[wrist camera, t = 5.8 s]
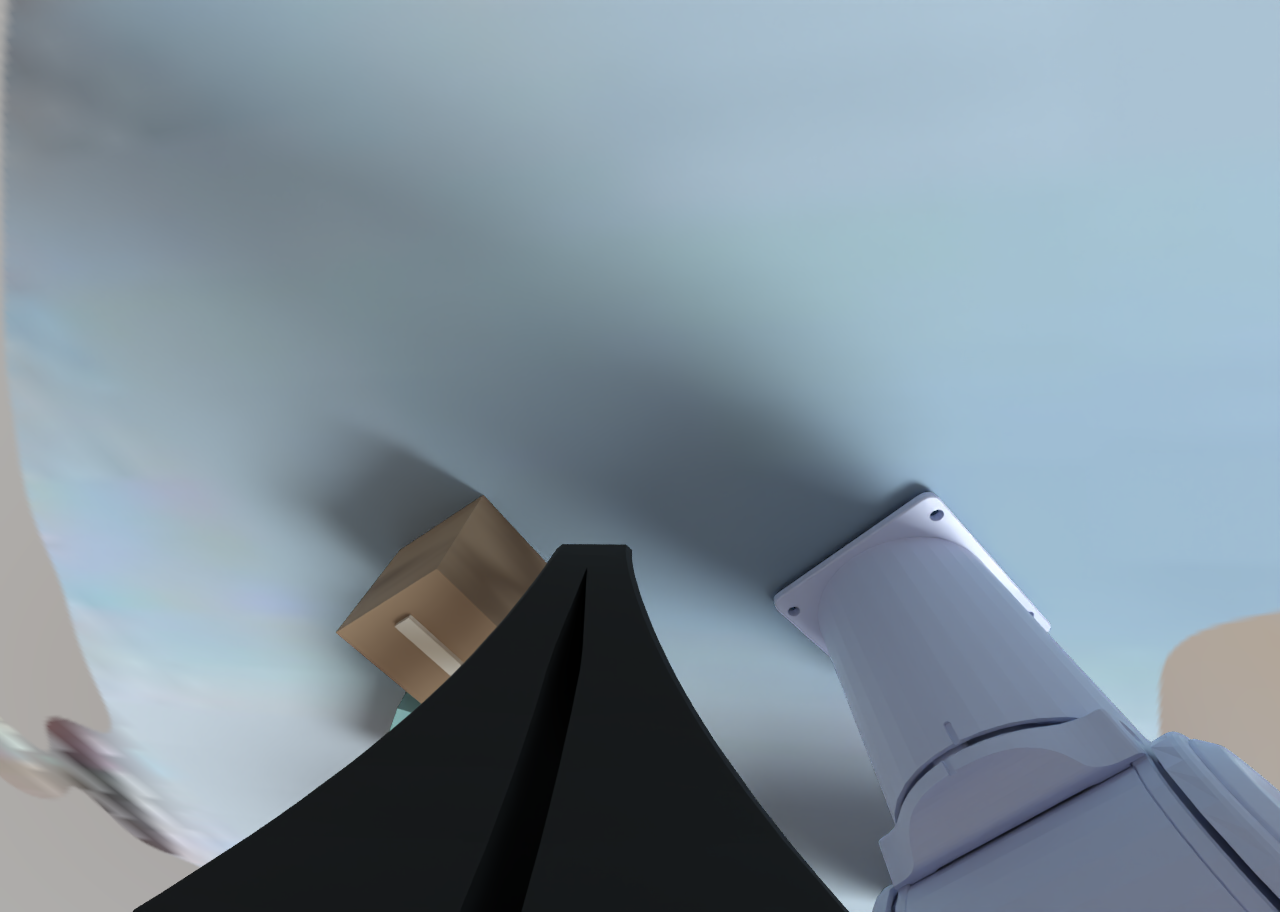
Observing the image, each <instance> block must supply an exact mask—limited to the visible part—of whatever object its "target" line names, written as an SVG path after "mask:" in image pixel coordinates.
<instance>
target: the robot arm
mask: <svg viewBox="0 0 1280 912" xmlns="http://www.w3.org/2000/svg"><path fill="white" fill-rule="evenodd" d="M935 510H939V511H938V513H937V514H936V515H933V516H930V514H931V513H932V512H933V511H935ZM774 605H775V608H776V609H777V611H779V612H780V613H781V614H782V615H783V616H784V617H785V618H786V619H788V620H789V621H790V622H791V623H792V624H793V625H794V626H796V627H797V628H798V629H799V630H800V631H801V632H802V633H803V634H805V635H806V636H807V637H808V638H809V639H810V640H811V641H812V642H814V643H815V644H816V645H817V646H818V647H819V648H820V649H821V650H823V651H824V652H825V653H826V654H827V655H828V656H829V657H830V658H831V659H832V662H833V665H834V667H835V670H836V672H837V675H838V678H839V680H840V683H841V685H842V688H843V691H844V693H845V696H846V698H847V701H848V704H849V706H850V709H851V711H852V714H853V717H854V719H855V722H856V724H857V727H858V730H859V732H860V735H861V737H862V740H863V743H864V745H865V748H866V750H867V753H868V756H869V758H870V761H871V763H872V766H873V769H874V771H875V774H876V776H877V779H878V782H879V784H880V787H881V789H882V792H883V795H884V797H885V800H886V802H887V805H888V808H889V810H890V813H891V815H892V818H893V821H894V823H895V826H894V828H893V829H892V830H891V831H890V832H889V833H888V834H887V835H885V836H884V837H882V838H881V839H880V840H879V841H878V843H879V846H880V849H881V852H882V855H883V857H884V860H885V863H886V866H887V869H888V872H889V875H890V878H891V880H892V883H893V884H892V885H890V886H888V887H886V888H884V889H883V891H882V892H881V893H880V895H879V896H878V897H877V899H876V901H875V904H874V907H873V911H872V912H1280V791H1279V790H1278V789H1276V788H1275V787H1274V786H1273V785H1272V784H1270V783H1269V782H1268V781H1267V780H1266V779H1264V778H1263V777H1262V776H1261V775H1260V774H1258V773H1257V772H1256V771H1255V770H1253V769H1252V768H1251V767H1250V766H1249V765H1248V764H1246V763H1245V762H1244V761H1243V760H1241V759H1240V758H1239V757H1238V756H1236V755H1235V754H1233V753H1232V752H1231V751H1229V750H1228V749H1227V748H1225V747H1223V746H1221V745H1218V744H1214V743H1209V742H1205V741H1201V740H1197V739H1192V740H1191V739H1189V738H1188V737H1186V736H1185V735H1183V734H1180V733H1177V732H1169V733H1166V734H1164V735H1162V736H1161V737H1159V738H1157V739H1155V740H1154V741H1152V743H1151V742H1150V741H1149V740H1147V739H1146V738H1145V737H1144V736H1143V735H1142V734H1141V733H1140V732H1139V731H1138V730H1137V729H1136V727H1135V726H1134V725H1133V724H1132V723H1131V722H1130V721H1129V720H1128V719H1127V718H1126V717H1125V716H1124V714H1123V713H1122V712H1121V711H1120V710H1119V709H1118V708H1117V707H1116V706H1115V705H1114V704H1113V703H1112V702H1111V700H1110V699H1109V698H1108V697H1107V696H1106V695H1105V694H1104V693H1103V692H1102V691H1101V690H1100V689H1099V687H1098V686H1097V685H1096V684H1095V683H1094V682H1093V681H1092V680H1091V679H1090V678H1089V677H1088V676H1087V675H1086V673H1085V672H1084V671H1083V670H1082V669H1081V668H1080V667H1079V666H1078V665H1077V664H1076V663H1075V662H1074V661H1073V659H1072V658H1071V657H1070V656H1069V655H1068V654H1067V653H1066V652H1065V651H1064V650H1063V649H1062V648H1061V646H1060V645H1059V644H1058V643H1057V642H1056V641H1055V640H1054V639H1053V638H1052V637H1051V636H1050V635H1049V634H1048V631H1049V630H1050V626H1051V625H1050V623H1049V621H1048V620H1047V619H1046V618H1045V617H1044V616H1043V615H1042V613H1041V612H1040V611H1039V610H1038V609H1037V608H1036V607H1035V606H1034V604H1033V603H1032V602H1031V601H1030V600H1029V599H1028V598H1027V596H1026V595H1025V594H1024V593H1023V592H1022V591H1021V590H1020V589H1019V587H1018V586H1017V585H1016V584H1015V583H1014V582H1013V581H1012V579H1011V578H1010V577H1009V576H1008V575H1007V574H1006V573H1005V572H1004V570H1003V569H1002V568H1001V567H1000V566H999V565H998V564H997V562H996V561H995V560H994V559H993V558H992V557H991V556H990V555H989V553H988V552H987V551H986V550H985V549H984V548H983V547H982V545H981V544H980V543H979V542H978V541H977V540H976V539H975V538H974V536H973V535H972V534H971V533H970V532H969V531H968V530H967V528H966V527H965V526H964V525H963V524H962V523H961V522H960V521H959V519H958V518H957V517H956V516H955V515H954V514H953V513H952V511H951V510H950V509H949V508H948V507H947V506H946V505H945V503H944V502H943V501H942V500H941V499H940V498H939V497H938V496H937V495H936V494H934V493H932V492H924V493H922V494H920V495H918V496H916V497H915V498H914V499H912V500H911V501H909V502H908V503H906V504H905V505H903V506H902V507H901V508H899V509H898V510H896V511H895V512H893V513H892V514H891V515H889V516H888V517H886V518H885V519H883V520H882V521H880V522H879V523H878V524H876V525H875V526H873V527H872V528H870V529H869V530H868V531H866V532H865V533H863V534H862V535H860V536H859V537H857V538H856V539H855V540H853V541H852V542H850V543H849V544H847V545H846V546H845V547H843V548H842V549H840V550H839V551H837V552H836V553H834V554H833V555H832V556H830V557H829V558H827V559H826V560H824V561H823V562H822V563H820V564H819V565H817V566H816V567H814V568H813V569H811V570H810V571H809V572H807V573H806V574H804V575H803V576H801V577H800V578H799V579H797V580H796V581H794V582H793V583H791V584H790V585H788V586H787V587H786V588H784V589H783V590H781V591H780V592H778V593H777V594H776V595H775V597H774ZM791 607H797V608H796V609H794V610H789V609H790V608H791ZM133 912H849V911H848V910H847V909H846V908H845V907H844V905H843V904H842V903H841V902H840V901H839V900H838V899H837V897H836V896H835V895H834V894H833V893H832V892H831V891H830V889H829V888H828V887H827V886H826V885H825V884H824V883H823V881H822V880H821V879H820V878H819V877H818V876H817V874H816V873H815V872H814V871H813V870H812V868H811V867H810V866H809V865H808V864H807V862H806V861H805V860H804V859H803V858H802V856H801V855H800V854H799V853H798V852H797V850H796V849H795V848H794V847H793V846H792V844H791V843H790V842H789V841H788V840H787V838H786V837H785V836H784V834H783V833H782V832H781V831H780V829H779V828H778V827H777V825H776V824H775V823H774V822H773V820H772V819H771V818H770V817H769V815H768V814H767V813H766V811H765V810H764V809H763V808H762V806H761V805H760V804H759V802H758V801H757V800H756V799H755V797H754V796H753V794H752V793H751V792H750V790H749V789H748V787H747V786H746V784H745V783H744V782H743V780H742V779H741V777H740V776H739V775H738V773H737V772H736V770H735V769H734V768H733V766H732V765H731V763H730V762H729V760H728V759H727V758H726V756H725V755H724V753H723V752H722V751H721V749H720V748H719V746H718V745H717V744H716V742H715V741H714V739H713V737H712V736H711V734H710V733H709V731H708V729H707V728H706V726H705V725H704V723H703V722H702V720H701V718H700V717H699V715H698V714H697V712H696V710H695V709H694V707H693V705H692V703H691V702H690V700H689V698H688V697H687V695H686V693H685V691H684V690H683V688H682V686H681V684H680V682H679V681H678V679H677V677H676V675H675V673H674V671H673V669H672V667H671V665H670V663H669V661H668V659H667V657H666V655H665V653H664V651H663V649H662V647H661V645H660V643H659V640H658V638H657V636H656V633H655V631H654V629H653V627H652V624H651V621H650V619H649V616H648V614H647V611H646V609H645V606H644V604H643V601H642V598H641V595H640V592H639V588H638V585H637V581H636V578H635V574H634V570H633V564H632V550H631V549H630V548H629V547H628V546H627V545H598V544H562V545H561V546H560V547H559V548H557V549H556V551H555V552H554V554H553V555H552V557H551V558H550V560H549V561H548V563H547V564H546V565H545V567H544V568H543V570H542V571H541V572H540V574H539V575H538V576H537V578H536V579H535V580H534V582H533V583H532V584H531V586H530V587H529V588H528V590H527V591H526V592H525V593H524V595H523V596H522V597H521V598H520V600H519V601H518V602H517V603H516V605H515V606H514V607H513V608H512V609H511V611H510V612H509V613H508V614H507V616H506V617H505V618H504V619H503V620H502V622H501V623H500V624H499V625H498V626H497V627H496V628H495V629H494V631H493V632H492V633H491V634H490V635H489V636H488V637H487V638H486V639H485V640H484V642H483V643H482V644H481V645H480V646H479V647H478V648H477V649H476V650H475V651H474V653H473V654H472V655H471V656H470V657H469V658H468V659H467V660H466V661H465V662H464V663H463V664H462V665H461V666H460V667H459V668H458V669H457V670H456V671H455V672H454V673H453V674H452V675H451V676H450V677H449V678H448V679H447V680H446V681H445V682H444V683H443V684H442V685H441V686H440V687H439V688H438V689H437V690H436V691H434V692H433V693H432V694H431V695H430V696H429V697H428V698H427V699H426V700H425V701H424V702H423V703H422V704H420V705H419V706H418V707H417V708H416V709H415V710H414V711H413V712H411V713H410V714H409V715H408V716H407V717H406V718H404V719H403V720H402V721H401V722H400V723H399V724H397V725H396V726H395V727H394V728H393V729H392V730H390V731H389V732H388V733H387V734H386V735H385V736H383V737H382V738H381V739H380V740H379V741H377V742H376V743H375V744H374V745H373V746H371V747H370V748H369V749H368V750H366V751H365V752H364V753H363V754H361V755H360V756H359V757H358V758H356V759H355V760H354V761H353V762H351V763H350V764H349V765H347V766H346V767H345V768H343V769H342V770H341V771H339V772H338V773H337V774H335V775H334V776H333V777H331V778H330V779H328V780H327V781H326V782H324V783H323V784H322V785H320V786H319V787H318V788H316V789H315V790H314V791H312V792H311V793H310V794H308V795H307V796H306V797H304V798H303V799H302V800H300V801H299V802H297V803H296V804H295V805H293V806H292V807H290V808H289V809H288V810H286V811H285V812H283V813H282V814H281V815H279V816H278V817H276V818H275V819H273V820H272V821H270V822H269V823H268V824H266V825H265V826H263V827H262V828H260V829H259V830H257V831H256V832H254V833H253V834H251V835H250V836H249V837H247V838H245V839H244V840H242V841H241V842H239V843H238V844H236V845H235V846H233V847H232V848H230V849H228V850H227V851H225V852H224V853H222V854H221V855H219V856H218V857H216V858H215V859H213V860H211V861H210V862H208V863H207V864H205V865H204V866H202V867H201V868H199V869H198V870H196V871H194V872H193V873H191V874H190V875H188V876H187V877H185V878H184V879H182V880H181V881H179V882H177V883H176V884H174V885H173V886H171V887H170V888H168V889H167V890H165V891H164V892H162V893H161V894H159V895H157V896H156V897H154V898H152V899H151V900H149V901H147V902H146V903H144V904H143V905H141V906H139V907H138V908H136V909H134V911H133Z"/></svg>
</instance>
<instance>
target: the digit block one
mask: <svg viewBox="0 0 1280 912" xmlns="http://www.w3.org/2000/svg"><path fill="white" fill-rule="evenodd" d="M546 564H547V563H546V562H545V561H544V560H543V559H542V557H541V556H540V555H539V554H538V553H537V552H536V551H535V550H534V549H533V548H532V547H531V546H530V545H529V543H528V542H527V541H526V540H525V539H524V538H523V537H522V536H521V535H520V534H519V533H518V532H517V531H516V529H515V528H514V527H513V526H512V525H511V524H510V523H509V522H508V521H507V520H506V519H505V518H504V517H503V515H502V514H501V513H500V512H499V511H498V510H497V509H496V508H495V507H494V506H493V505H492V504H491V503H490V501H489V500H488V499H487V498H486V497H485V496H484V495H482V496H481V497H479V498H478V499H476V500H475V501H473V502H472V503H470V504H469V505H467V506H466V507H464V508H463V509H461V510H460V511H458V512H457V513H455V514H454V515H452V516H451V517H449V518H448V519H446V520H445V521H443V522H442V523H440V524H439V525H437V526H436V527H434V528H433V529H431V530H430V531H428V532H427V533H425V534H424V535H422V536H421V537H419V538H417V539H416V540H414V541H413V542H411V543H410V544H408V545H407V546H405V547H404V548H402V549H401V550H399V552H398V553H397V554H396V556H395V557H394V558H393V559H392V561H391V562H390V563H389V565H388V566H387V567H386V568H385V570H384V571H383V572H382V574H381V575H380V576H379V577H378V579H377V580H376V581H375V583H374V584H373V585H372V586H371V588H370V589H369V590H368V592H367V593H366V594H365V596H364V597H363V598H362V599H361V601H360V602H359V603H358V605H357V606H356V607H355V608H354V610H353V611H352V612H351V614H350V615H349V616H348V617H347V619H346V620H345V621H344V623H343V624H342V625H341V626H340V628H339V629H338V630H337V632H336V633H337V634H338V635H339V636H340V637H342V638H343V639H344V640H345V641H346V642H348V643H349V644H350V645H351V646H352V647H354V648H355V649H356V650H357V651H358V652H360V653H361V654H362V655H363V656H364V657H366V658H367V659H368V660H369V661H370V662H372V663H373V664H374V665H375V666H376V667H378V668H379V669H380V670H381V671H382V672H384V673H385V674H386V675H387V676H388V677H390V678H391V679H392V680H393V681H394V682H396V683H397V684H398V685H399V686H400V687H402V688H403V689H404V690H405V691H406V692H408V693H409V694H410V695H411V696H412V697H414V698H415V699H416V700H417V701H419V702H420V703H421V704H422V703H423V702H424V701H425V700H426V699H427V698H428V697H429V696H430V695H431V694H432V693H433V692H434V691H436V690H437V689H438V688H439V687H440V686H441V685H442V684H443V683H444V682H445V681H446V680H447V679H448V678H449V677H450V676H451V675H452V674H453V673H454V672H455V671H456V670H457V669H458V668H459V667H460V666H461V665H462V664H463V663H464V662H465V661H466V660H467V659H468V658H469V657H470V656H471V655H472V654H473V653H474V651H475V650H476V649H477V648H478V647H479V646H480V645H481V644H482V643H483V642H484V640H485V639H486V638H487V637H488V636H489V635H490V634H491V633H492V632H493V631H494V629H495V628H496V627H497V626H498V625H499V624H500V623H501V622H502V620H503V619H504V618H505V617H506V616H507V614H508V613H509V612H510V611H511V609H512V608H513V607H514V606H515V605H516V603H517V602H518V601H519V600H520V598H521V597H522V596H523V595H524V593H525V592H526V591H527V590H528V588H529V587H530V586H531V584H532V583H533V582H534V580H535V579H536V578H537V576H538V575H539V574H540V572H541V571H542V570H543V568H544V567H545V565H546Z"/></svg>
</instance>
